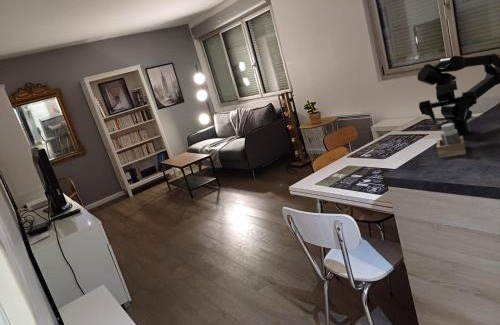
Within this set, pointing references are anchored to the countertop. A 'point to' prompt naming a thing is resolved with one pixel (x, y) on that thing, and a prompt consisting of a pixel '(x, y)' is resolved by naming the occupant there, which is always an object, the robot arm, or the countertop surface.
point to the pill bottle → (449, 134)
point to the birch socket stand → (451, 148)
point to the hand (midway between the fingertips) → (449, 122)
